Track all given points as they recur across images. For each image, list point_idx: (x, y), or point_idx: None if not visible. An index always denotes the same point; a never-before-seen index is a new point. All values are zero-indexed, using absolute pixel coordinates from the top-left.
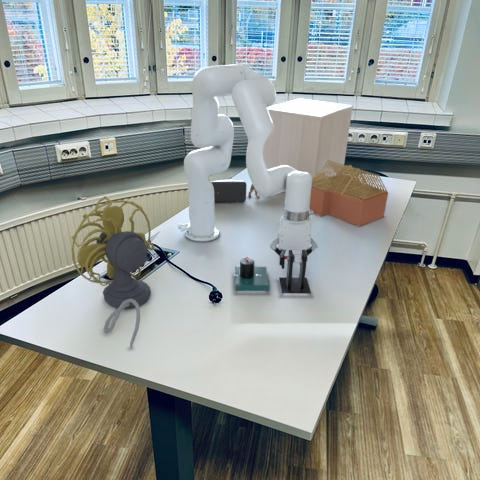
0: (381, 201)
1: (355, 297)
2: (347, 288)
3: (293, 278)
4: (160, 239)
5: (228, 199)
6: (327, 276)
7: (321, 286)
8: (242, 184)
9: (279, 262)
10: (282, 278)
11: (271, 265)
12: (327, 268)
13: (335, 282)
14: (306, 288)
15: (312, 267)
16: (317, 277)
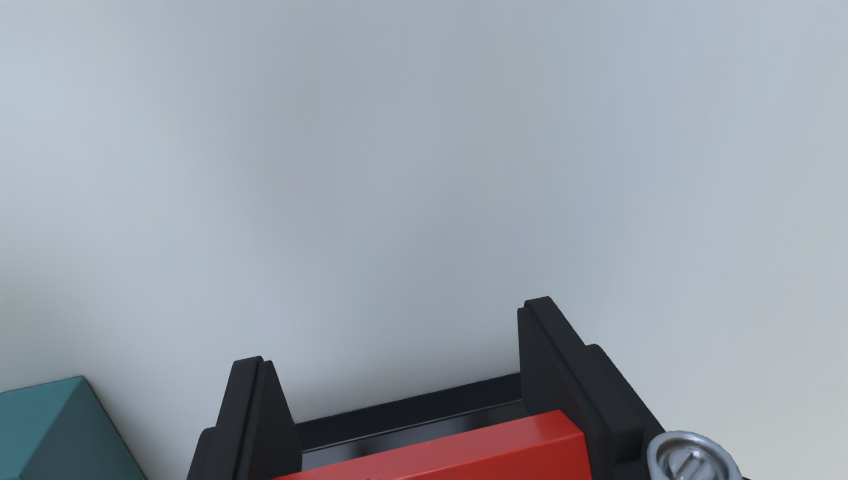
0: None
1: (834, 469)
2: (839, 388)
3: (421, 442)
4: None
5: None
6: (763, 244)
7: (654, 413)
8: None
9: (203, 451)
10: (306, 469)
11: (62, 100)
12: (836, 55)
13: (790, 329)
14: None
15: (664, 59)
16: (660, 284)
